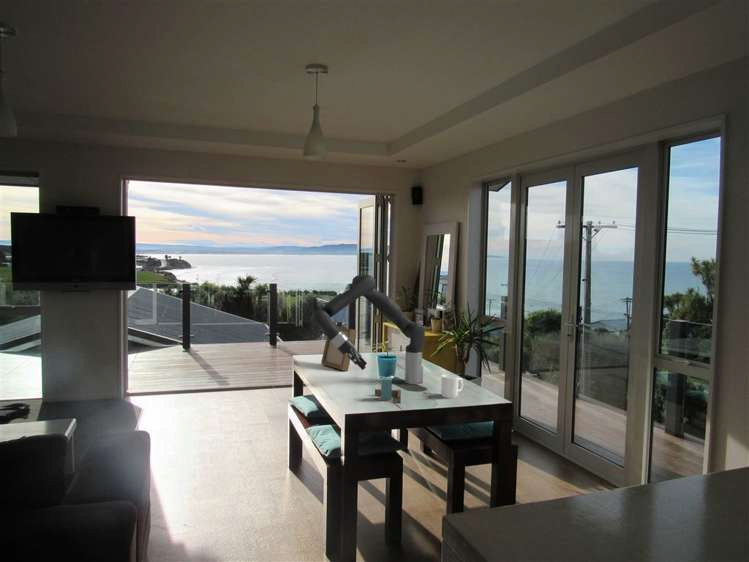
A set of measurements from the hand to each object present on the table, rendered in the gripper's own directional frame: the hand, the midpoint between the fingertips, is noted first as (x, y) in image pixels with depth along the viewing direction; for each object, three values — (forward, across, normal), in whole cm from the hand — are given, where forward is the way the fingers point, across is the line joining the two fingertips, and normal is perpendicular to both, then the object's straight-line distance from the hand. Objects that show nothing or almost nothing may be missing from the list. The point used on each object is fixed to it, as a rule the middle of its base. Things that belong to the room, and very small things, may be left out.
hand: (365, 366), depth 269 cm
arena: (+19, 0, +3) cm, 19 cm away
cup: (+42, +11, -20) cm, 48 cm away
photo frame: (-2, +68, +25) cm, 72 cm away
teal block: (+19, 0, +3) cm, 19 cm away
